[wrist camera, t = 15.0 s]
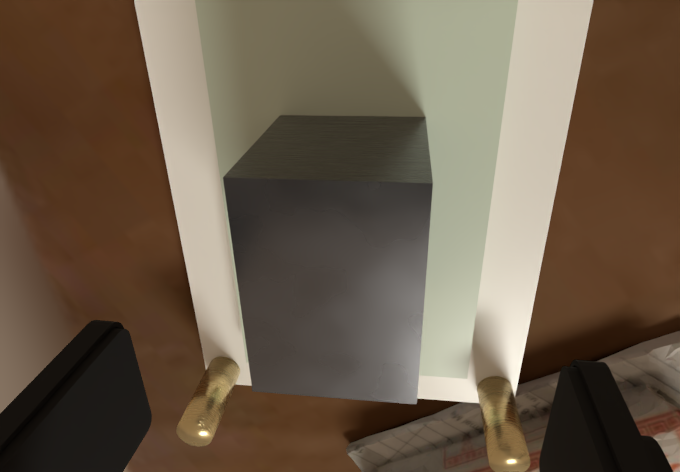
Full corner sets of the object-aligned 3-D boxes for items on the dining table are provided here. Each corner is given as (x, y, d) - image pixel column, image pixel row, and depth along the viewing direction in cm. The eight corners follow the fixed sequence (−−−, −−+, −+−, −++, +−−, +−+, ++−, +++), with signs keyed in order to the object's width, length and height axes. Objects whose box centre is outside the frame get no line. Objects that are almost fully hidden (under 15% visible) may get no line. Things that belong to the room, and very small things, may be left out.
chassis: (606, -137, 15) (694, -187, 10) (508, 387, 25) (531, 480, 20) (129, -114, 17) (23, -147, 12) (216, 366, 26) (176, 447, 22)
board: (515, -38, 15) (590, -46, 9) (464, 360, 23) (485, 509, 16) (204, -30, 16) (76, -32, 10) (253, 345, 24) (197, 478, 18)
